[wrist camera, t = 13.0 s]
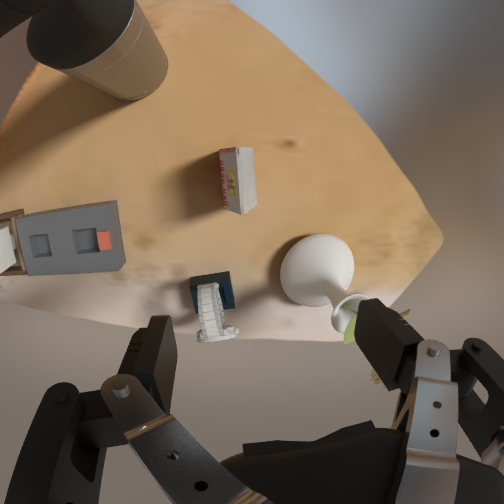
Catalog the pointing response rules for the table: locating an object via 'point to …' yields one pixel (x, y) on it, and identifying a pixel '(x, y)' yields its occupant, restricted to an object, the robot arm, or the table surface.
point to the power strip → (72, 240)
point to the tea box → (238, 179)
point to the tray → (9, 221)
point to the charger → (6, 249)
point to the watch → (213, 306)
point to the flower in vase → (324, 281)
